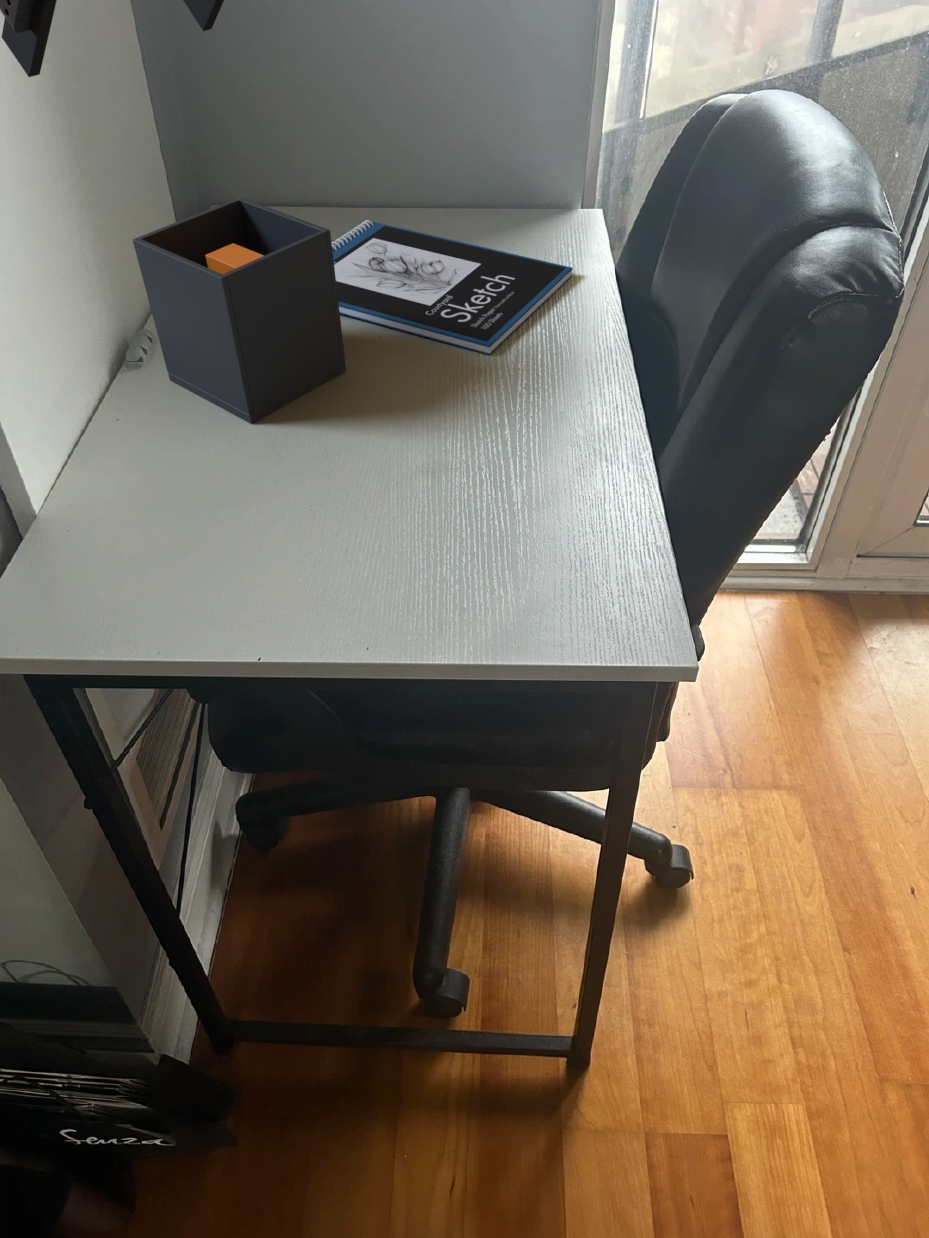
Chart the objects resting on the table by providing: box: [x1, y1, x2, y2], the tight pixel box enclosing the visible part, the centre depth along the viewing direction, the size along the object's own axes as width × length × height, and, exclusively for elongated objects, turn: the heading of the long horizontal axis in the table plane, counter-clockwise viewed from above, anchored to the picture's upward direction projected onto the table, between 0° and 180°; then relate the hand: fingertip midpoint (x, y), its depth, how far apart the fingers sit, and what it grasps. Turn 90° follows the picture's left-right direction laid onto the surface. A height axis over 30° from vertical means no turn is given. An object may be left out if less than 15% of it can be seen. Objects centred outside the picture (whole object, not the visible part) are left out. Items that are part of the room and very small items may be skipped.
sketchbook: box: [331, 219, 574, 356], centre depth 113 cm, size 22×30×2 cm
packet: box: [205, 243, 264, 274], centre depth 95 cm, size 4×5×12 cm
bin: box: [132, 196, 347, 424], centre depth 94 cm, size 13×13×15 cm
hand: (113, 33), depth 62 cm, fingers open, 13 cm apart
